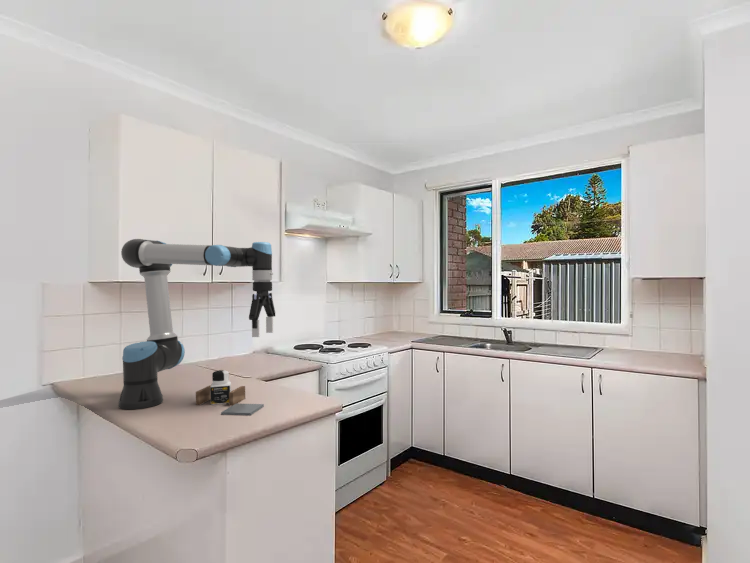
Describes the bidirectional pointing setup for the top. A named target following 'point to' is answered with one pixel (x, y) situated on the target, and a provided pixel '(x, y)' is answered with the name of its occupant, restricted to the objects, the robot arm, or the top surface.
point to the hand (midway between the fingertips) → (263, 334)
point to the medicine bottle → (220, 387)
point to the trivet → (242, 409)
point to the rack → (234, 395)
